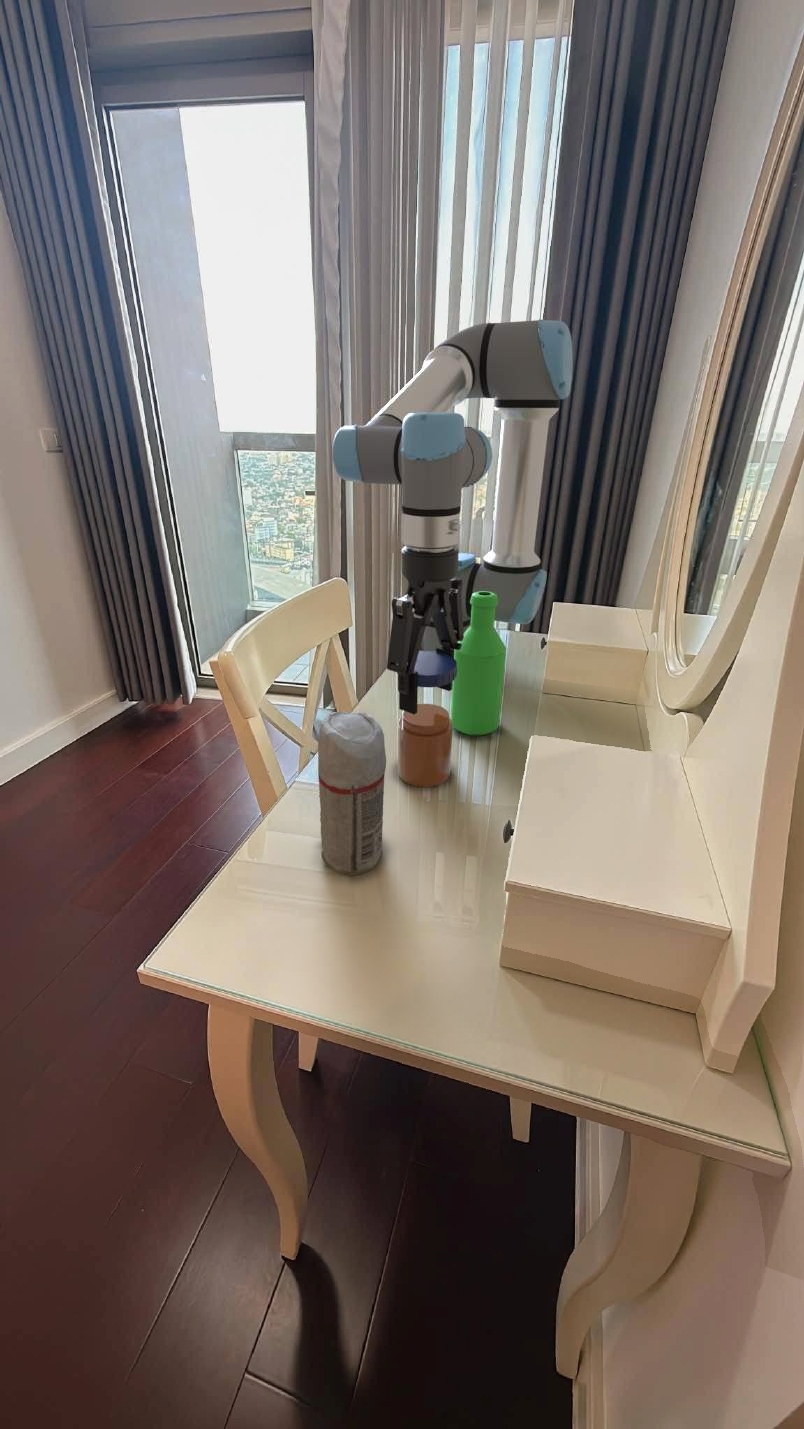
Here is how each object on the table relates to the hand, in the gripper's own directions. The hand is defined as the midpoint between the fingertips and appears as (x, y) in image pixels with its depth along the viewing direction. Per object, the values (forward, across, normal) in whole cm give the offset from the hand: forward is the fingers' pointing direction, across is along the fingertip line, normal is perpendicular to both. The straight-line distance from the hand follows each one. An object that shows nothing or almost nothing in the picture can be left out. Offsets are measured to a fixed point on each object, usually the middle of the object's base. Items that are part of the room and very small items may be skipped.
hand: (426, 698), depth 85 cm
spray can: (+13, -21, -4) cm, 25 cm away
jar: (+13, 0, 0) cm, 13 cm away
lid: (-6, 0, 0) cm, 6 cm away
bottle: (+14, +17, +1) cm, 22 cm away
